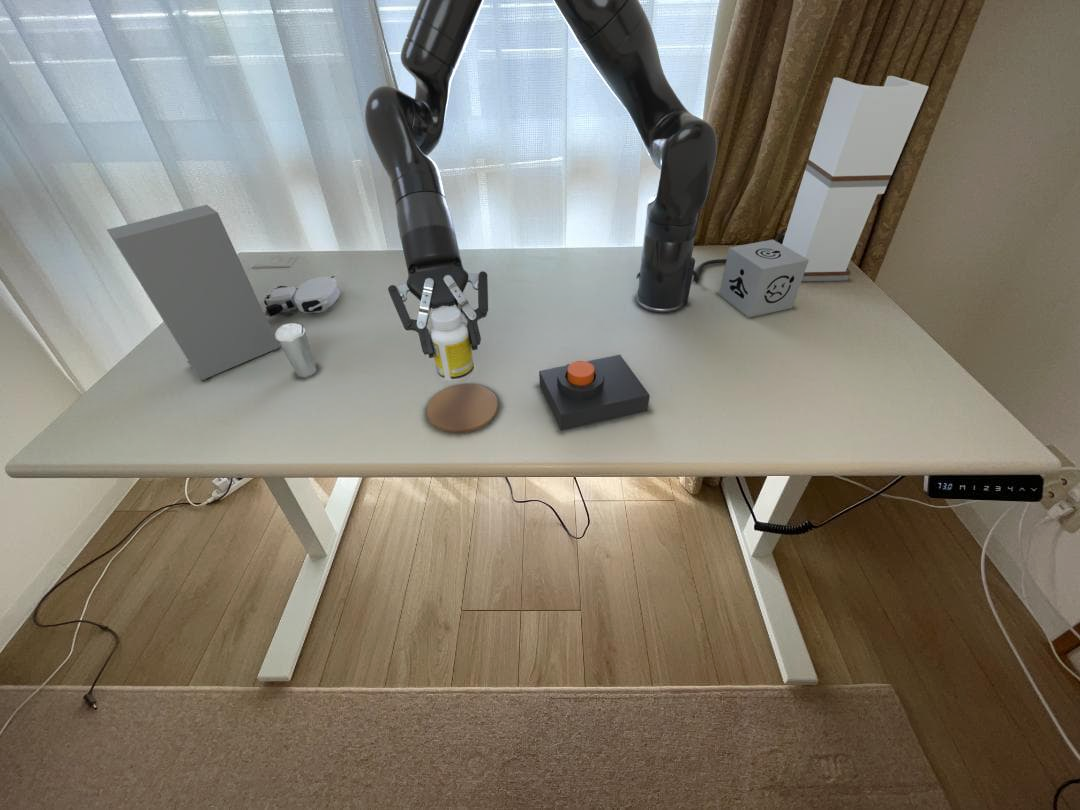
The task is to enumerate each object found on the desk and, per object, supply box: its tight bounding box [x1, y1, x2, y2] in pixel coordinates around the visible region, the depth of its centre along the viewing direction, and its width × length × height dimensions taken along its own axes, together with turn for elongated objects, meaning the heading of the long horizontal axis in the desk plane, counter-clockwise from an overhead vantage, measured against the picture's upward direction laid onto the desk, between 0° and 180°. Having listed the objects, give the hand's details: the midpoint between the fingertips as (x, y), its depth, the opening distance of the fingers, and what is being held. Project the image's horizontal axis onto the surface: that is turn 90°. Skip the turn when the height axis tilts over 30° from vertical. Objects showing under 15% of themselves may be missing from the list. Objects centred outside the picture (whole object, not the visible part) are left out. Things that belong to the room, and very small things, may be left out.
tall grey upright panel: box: [106, 204, 281, 381], centre depth 81 cm, size 14×6×25 cm, turn 135°
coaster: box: [426, 383, 499, 434], centre depth 76 cm, size 11×11×1 cm
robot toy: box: [262, 273, 341, 318], centre depth 101 cm, size 12×4×15 cm
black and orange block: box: [538, 354, 651, 431], centre depth 76 cm, size 14×11×5 cm
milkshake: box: [274, 322, 317, 378], centre depth 82 cm, size 4×5×10 cm
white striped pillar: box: [781, 75, 929, 282], centre depth 97 cm, size 11×11×35 cm
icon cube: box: [718, 239, 809, 318], centre depth 96 cm, size 10×10×10 cm
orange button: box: [568, 360, 594, 386], centre depth 74 cm, size 4×4×2 cm
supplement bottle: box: [429, 306, 475, 383], centre depth 69 cm, size 5×5×10 cm
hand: (453, 352), depth 68 cm, fingers closed on supplement bottle, 5 cm apart
